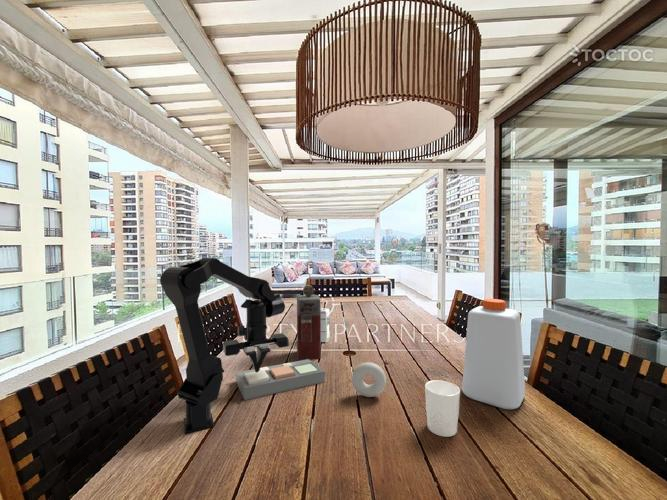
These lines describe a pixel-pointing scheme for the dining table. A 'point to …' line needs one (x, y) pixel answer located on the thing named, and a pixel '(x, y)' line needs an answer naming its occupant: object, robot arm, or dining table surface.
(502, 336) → the plastic bottle
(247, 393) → the keypad
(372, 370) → the donut
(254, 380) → the ivory key
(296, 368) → the sage key
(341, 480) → the dining table surface
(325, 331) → the syrup box
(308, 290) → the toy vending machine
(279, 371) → the terracotta key
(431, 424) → the white cup
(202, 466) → the dining table surface
